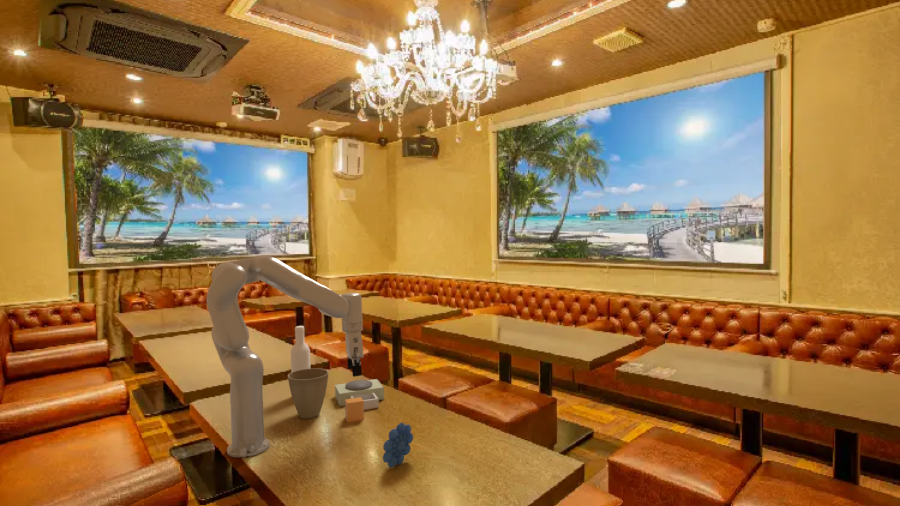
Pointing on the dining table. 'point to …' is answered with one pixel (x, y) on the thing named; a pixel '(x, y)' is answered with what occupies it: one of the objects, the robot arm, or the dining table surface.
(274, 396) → the dining table surface
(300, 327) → the bottle
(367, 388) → the green box with tray
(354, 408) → the orange block
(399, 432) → the grapes
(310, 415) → the plant pot
